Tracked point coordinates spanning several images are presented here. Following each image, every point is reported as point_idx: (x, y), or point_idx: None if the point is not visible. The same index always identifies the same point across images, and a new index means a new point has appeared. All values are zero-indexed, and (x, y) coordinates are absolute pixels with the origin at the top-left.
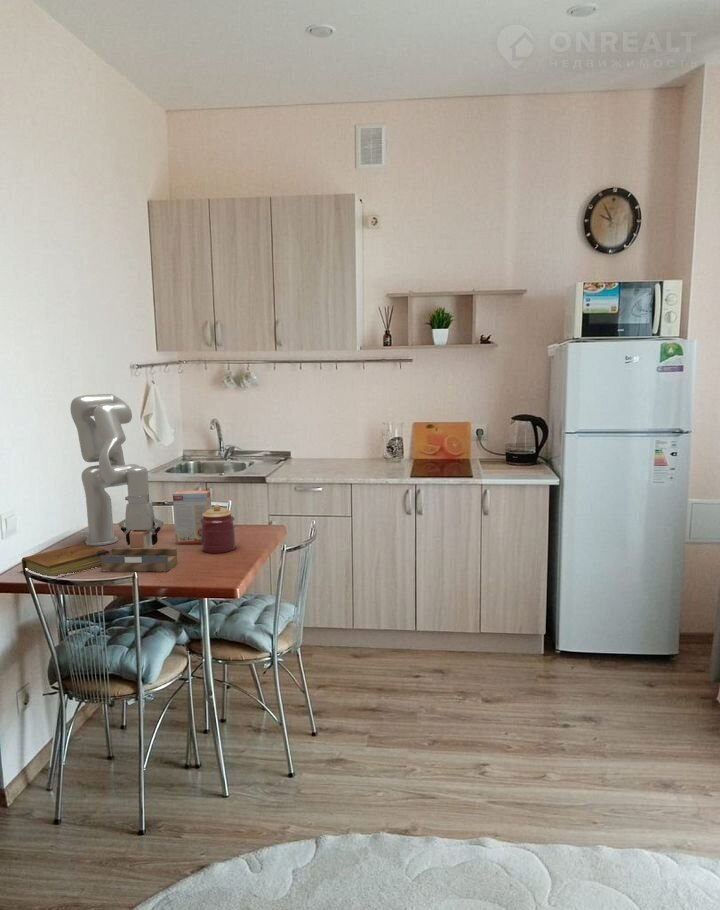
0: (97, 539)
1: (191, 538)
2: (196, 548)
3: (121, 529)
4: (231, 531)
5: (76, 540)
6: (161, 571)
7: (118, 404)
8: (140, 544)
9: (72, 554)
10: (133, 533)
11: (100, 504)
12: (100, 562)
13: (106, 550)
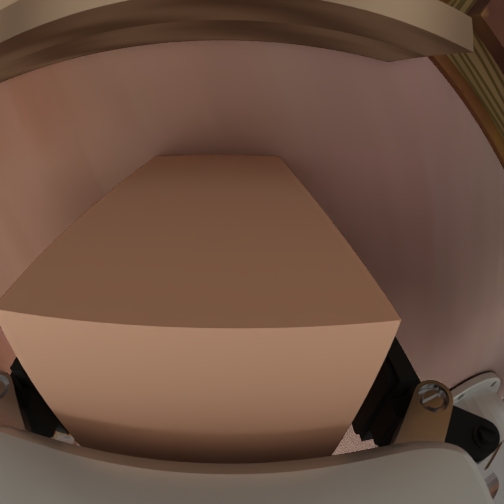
0: (479, 399)
1: (66, 435)
2: (11, 362)
3: (491, 424)
4: None
5: (501, 396)
6: None
7: None
8: (141, 198)
9: None
10: (261, 322)
11: None
12: (457, 1)
13: (499, 33)
